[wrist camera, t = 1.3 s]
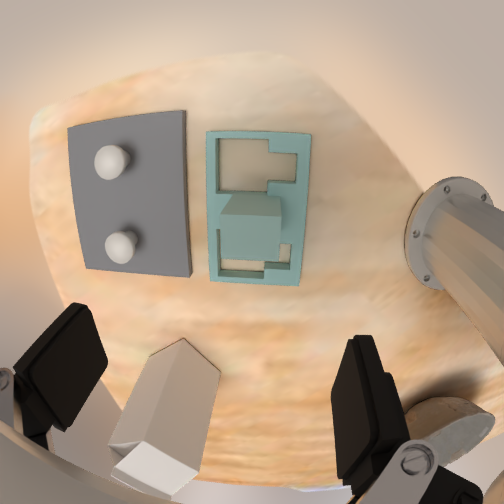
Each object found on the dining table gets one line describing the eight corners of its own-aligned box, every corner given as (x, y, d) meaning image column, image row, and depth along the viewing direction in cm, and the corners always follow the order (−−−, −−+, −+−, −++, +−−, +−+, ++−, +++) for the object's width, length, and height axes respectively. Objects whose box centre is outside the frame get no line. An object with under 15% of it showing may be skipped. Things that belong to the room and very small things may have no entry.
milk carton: (183, 337, 33) (130, 476, 16) (221, 371, 35) (192, 505, 18) (149, 355, 35) (94, 473, 18) (185, 386, 37) (149, 502, 20)
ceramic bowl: (482, 348, 31) (509, 391, 22) (466, 415, 39) (480, 449, 30) (358, 402, 36) (368, 457, 27) (372, 453, 44) (378, 491, 35)
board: (185, 111, 23) (171, 108, 19) (192, 272, 29) (181, 292, 26) (73, 127, 23) (50, 130, 20) (90, 264, 30) (73, 280, 27)
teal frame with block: (309, 134, 23) (322, 135, 16) (298, 279, 28) (303, 324, 22) (209, 131, 23) (184, 132, 17) (212, 274, 29) (195, 317, 22)
